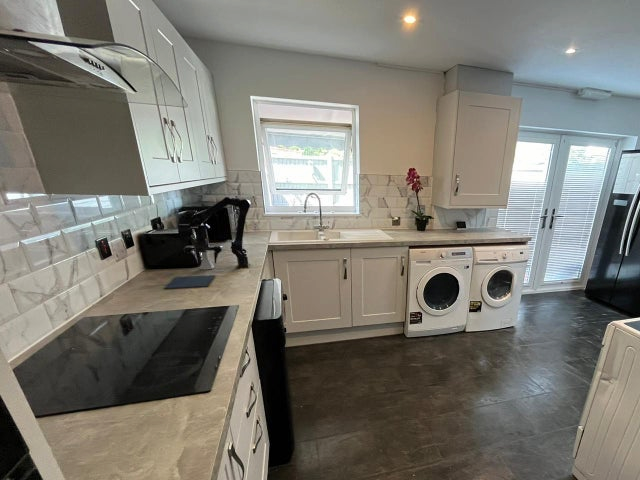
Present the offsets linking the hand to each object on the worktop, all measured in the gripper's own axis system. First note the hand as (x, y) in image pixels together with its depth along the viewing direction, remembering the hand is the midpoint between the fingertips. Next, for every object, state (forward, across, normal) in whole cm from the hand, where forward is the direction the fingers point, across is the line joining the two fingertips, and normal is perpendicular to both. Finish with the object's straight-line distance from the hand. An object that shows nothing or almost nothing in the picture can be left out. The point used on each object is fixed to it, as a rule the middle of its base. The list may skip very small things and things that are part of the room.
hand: (206, 263), depth 185 cm
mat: (+3, -2, -26) cm, 26 cm away
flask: (+3, 0, 0) cm, 3 cm away
